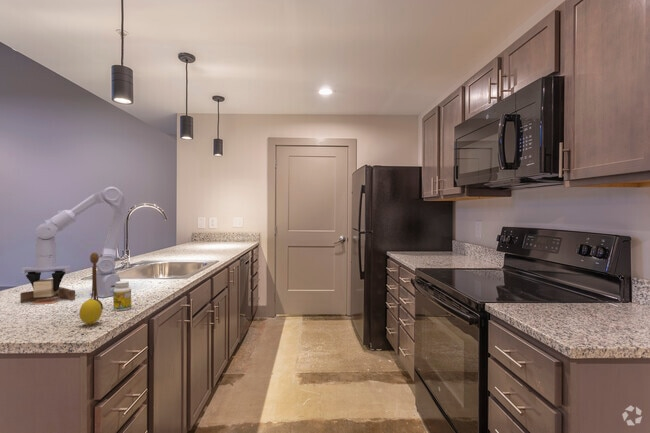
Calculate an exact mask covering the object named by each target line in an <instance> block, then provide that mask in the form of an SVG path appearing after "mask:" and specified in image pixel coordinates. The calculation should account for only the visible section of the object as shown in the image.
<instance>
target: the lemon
mask: <svg viewBox="0 0 650 433" xmlns="http://www.w3.org/2000/svg"><path fill="white" fill-rule="evenodd" d="M102 312H103V309H102V308H101V305H100V303H99V302H98V301H96V300H93V298H92V299H91V298H89V299H87V300H86V301H84V302H83V303H82V304H81V306H80V309H79V318H80V320H81V322H83V323H85V324H88V325H90V326H92V325H93V324H94V323H96V322H98V320H99V319H100V318H101V316H102Z"/></svg>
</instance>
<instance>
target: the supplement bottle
mask: <svg viewBox="0 0 650 433" xmlns="http://www.w3.org/2000/svg"><path fill="white" fill-rule="evenodd" d="M129 284H130V281H128V280H120V281H119V282H116V283H115V286H116V288H115V289H114V290H113V296H112V297H113V300H112V301H113V310H114V311H116V312H123V311H128V310H130V309H131V308H132V288H131V287H130V286H129Z"/></svg>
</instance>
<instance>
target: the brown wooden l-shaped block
mask: <svg viewBox="0 0 650 433" xmlns="http://www.w3.org/2000/svg"><path fill="white" fill-rule="evenodd" d="M54 297H55V298H56V297H57V298H62V299H64V300H65V299H66V300H68V301H75V300H76V290H74V289H70V288H67V287H62V286H59V293H58V294H55V295H53V296H51V297H34V290H31V291H30V290H29V291H24V292H20V300H19V301H20V303H21V304H25V303H28V302H35V301H38V300H40V299H51V298H54Z"/></svg>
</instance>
